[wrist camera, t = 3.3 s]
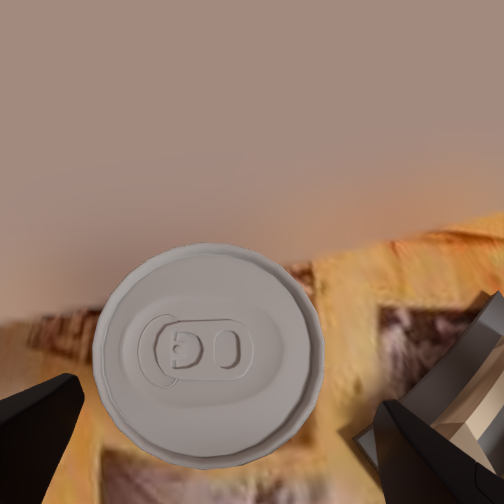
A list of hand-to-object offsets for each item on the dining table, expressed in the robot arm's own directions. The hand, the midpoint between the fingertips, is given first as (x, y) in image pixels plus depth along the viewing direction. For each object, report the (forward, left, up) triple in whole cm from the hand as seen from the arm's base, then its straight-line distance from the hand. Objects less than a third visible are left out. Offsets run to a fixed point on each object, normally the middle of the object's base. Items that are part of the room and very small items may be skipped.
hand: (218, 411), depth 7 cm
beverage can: (+1, +1, -9) cm, 9 cm away
